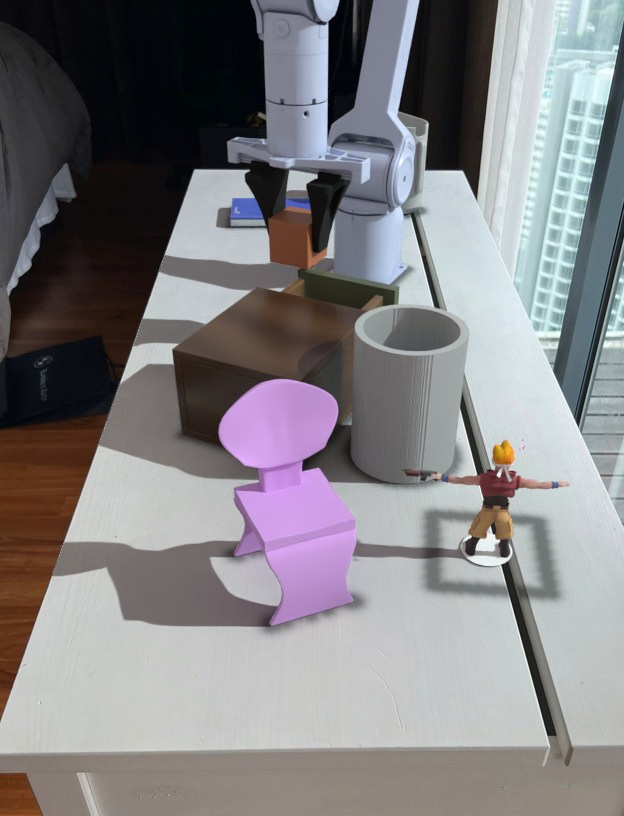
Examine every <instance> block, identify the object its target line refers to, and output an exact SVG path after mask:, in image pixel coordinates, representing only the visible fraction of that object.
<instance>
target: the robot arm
mask: <svg viewBox="0 0 624 816" xmlns="http://www.w3.org/2000/svg"><path fill="white" fill-rule="evenodd" d="M250 3H251V6H252V9H253V10H254V13H255V19H256V33H257V34H258V38H259V40H261V41H263V58H264V59H263V61H264V62H263V63H264V88H265V89H264V90H265V116H266V117H265V118H266V138H249V137H248V138H247V137H242V136H241V137H240V136H236V137H233V138H231V139H230V140H228V141H227V142H226V146H227V147H226V148H227V162H228V163H231V164H240V163H246V164H250V167H249V171H246V172H245V173H244V182H245V184H246V185H247V187H248V189H249V190H250V192H251V193H252V196H253V198H255V199H256V201H257V203H258V205H259V208H260V210H261V213H262V216H263V219H264V222H265V225H266V226H265V227H266V231H267V236H268V237H269V218H271V217H272V216H274V215H276V214H277V213H279V212H280V211H282V210H284V209H285V208H286V198H287V190H288V181H289V176H290V171H293V172H299V173H305V174H311V175H317V178H314V179H312V180H310V181H309V182H307V183H306V184H305V189H306V192H307V193H306V194H307V197H308V198H309V202H310V208H311V216H312V246H313V252H316V253H320V252H322V251H323V250H324V249H326V248H327V249H328V248H329V247H328V246H329V242H330V241H329V240H330V238H331V237H330V236H331V233H332V229H334V231H333V234H334V235H333V268H332V269H330V270H329V271H328V272H332V273H336V274H341V275H346V276H351V277H356V278H361V279H366V280H370V281H375V282H380V283H385V284H390V285H392V283H393V282H394V281H395V280H397V279H398V278H399V277H400V276H401V275H402V274H403V273H404V272H405V271H406V270H407V269H408V268H409V266H408V264H407V263H405V262H402V254H403V253H402V251H403V239H404V238H403V237H404V224H405V223H404V222H405V217H404V214H403V211H402V209H401V207H400V206H401V205H402V204H403V203H404V202H405V201H406V199H407V198H408V196H409V193H410V190H411V187H412V182H413V175H414V154H415V148H416V146H415V141H414V138H413V136H412V134H411V133H410V132H409V130H408V129H407V128H406V127H405V126H404V125H403V123H402V122H401V121H400V120H399V118H398V117H397V114H398V112H399V108H400V103H401V97H402V93H403V87H404V83H405V77H406V71H407V67H408V61H409V56H410V50H411V47H412V41H413V35H414V30H415V25H416V21H417V14H418V9H419V5H420V0H373V1H372V7H371V12H370V17H369V23H368V30H367V35H366V40H365V47H364V52H363V57H362V61H361V62H362V63H361V68H360V73H359V79H358V85H357V90H356V96H355V102H354V107H353V108H352V109H350V111H348V112H347V113H345V114H344V115H343V116H341V117H340V118H338V119H336V121H334V122H333V123H332V124H331V125H330V129H329V133H328V115H329V114H328V112H329V111H328V107H329V104H328V103H329V102H328V101H329V97H328V96H329V95H328V94H329V89H328V88H329V21H330V20H332V18H334V17H335V16H336V13H337V11H338V7H339V5H340V4H339V3H340V0H250ZM357 142H368V143H375V144H382V145H389V146H394V148H390V147H384V146H377V145H370V144H363V143H357ZM333 224H334V227H333ZM332 227H333V228H332Z"/></svg>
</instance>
